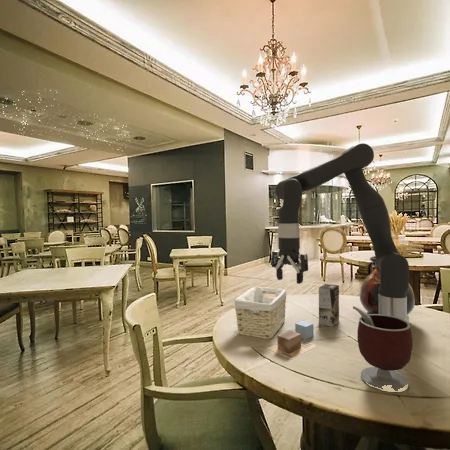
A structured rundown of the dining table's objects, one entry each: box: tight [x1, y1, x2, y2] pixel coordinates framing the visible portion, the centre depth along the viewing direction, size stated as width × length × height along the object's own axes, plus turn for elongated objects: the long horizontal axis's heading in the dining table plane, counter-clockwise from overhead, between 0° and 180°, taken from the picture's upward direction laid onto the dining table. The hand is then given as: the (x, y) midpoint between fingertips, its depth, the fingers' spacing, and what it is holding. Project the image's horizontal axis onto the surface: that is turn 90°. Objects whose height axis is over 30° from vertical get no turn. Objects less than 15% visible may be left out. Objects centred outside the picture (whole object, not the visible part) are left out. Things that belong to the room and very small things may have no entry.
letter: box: [266, 339, 317, 360], centre depth 108 cm, size 11×15×1 cm
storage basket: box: [234, 286, 287, 340], centre depth 127 cm, size 24×16×15 cm
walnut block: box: [276, 329, 302, 354], centre depth 107 cm, size 5×7×5 cm
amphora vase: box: [359, 255, 416, 316], centre depth 132 cm, size 22×22×28 cm
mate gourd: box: [352, 305, 413, 391], centre depth 86 cm, size 16×14×20 cm
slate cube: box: [294, 320, 315, 340], centre depth 118 cm, size 5×5×5 cm
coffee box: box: [318, 283, 340, 327], centre depth 131 cm, size 9×6×16 cm
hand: (289, 281), depth 106 cm, fingers open, 8 cm apart
